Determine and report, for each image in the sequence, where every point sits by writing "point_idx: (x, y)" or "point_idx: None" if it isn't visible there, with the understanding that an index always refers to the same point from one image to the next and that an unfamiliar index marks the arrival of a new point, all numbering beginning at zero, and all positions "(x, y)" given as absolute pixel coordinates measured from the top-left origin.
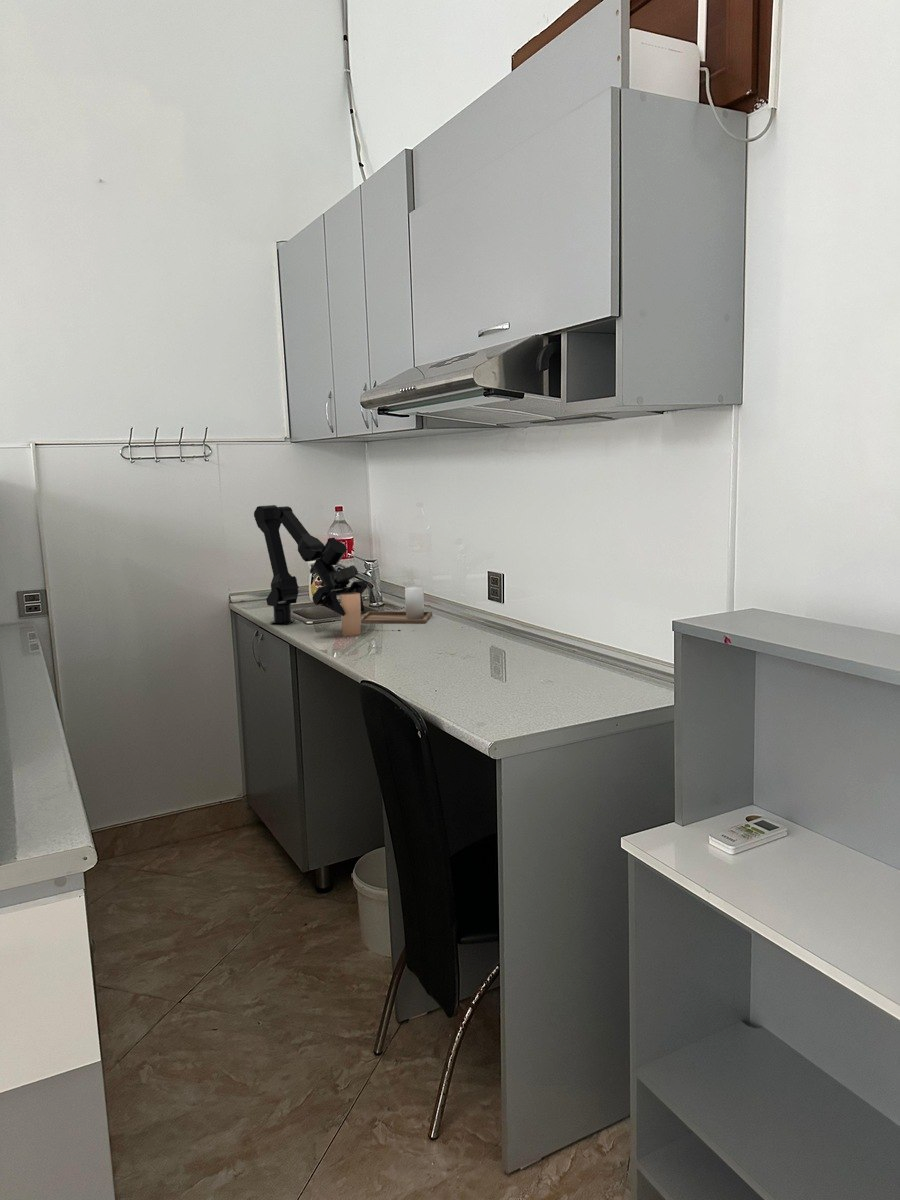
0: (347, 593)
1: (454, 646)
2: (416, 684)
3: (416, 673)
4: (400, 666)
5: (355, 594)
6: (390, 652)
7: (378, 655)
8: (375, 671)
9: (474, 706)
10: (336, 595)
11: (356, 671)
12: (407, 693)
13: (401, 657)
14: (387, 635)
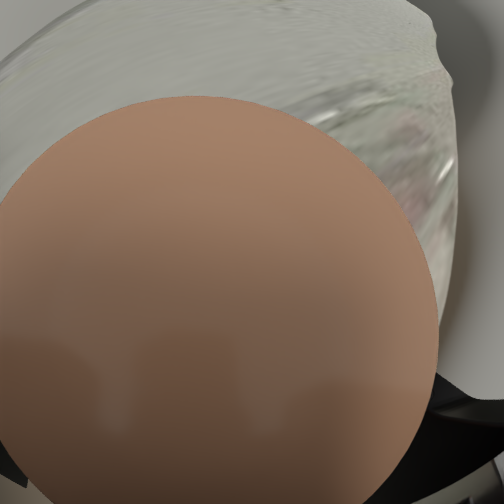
0: (176, 473)
1: (215, 2)
2: (415, 34)
3: (394, 31)
4: (392, 45)
5: (217, 143)
6: (347, 65)
7: (382, 80)
8: (431, 70)
9: (406, 10)
10: (474, 421)
11: (450, 92)
12: (433, 41)
13: (358, 46)
14: None
